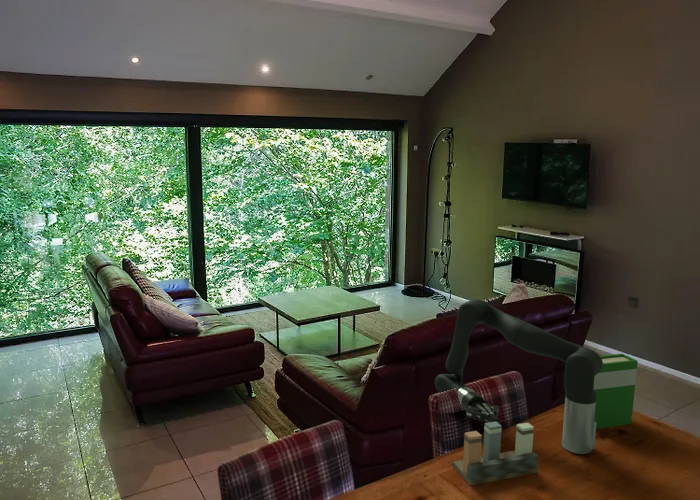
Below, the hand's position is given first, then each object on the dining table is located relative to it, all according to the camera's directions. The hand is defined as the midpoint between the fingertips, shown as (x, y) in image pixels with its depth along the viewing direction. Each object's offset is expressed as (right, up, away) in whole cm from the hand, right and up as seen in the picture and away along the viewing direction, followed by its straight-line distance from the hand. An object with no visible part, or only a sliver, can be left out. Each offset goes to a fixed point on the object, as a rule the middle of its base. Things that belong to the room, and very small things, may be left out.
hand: (496, 422), depth 185 cm
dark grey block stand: (-4, -10, -14) cm, 18 cm away
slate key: (-5, -8, -12) cm, 16 cm away
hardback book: (+44, -5, +18) cm, 47 cm away
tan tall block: (-13, -9, -19) cm, 24 cm away
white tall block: (+5, -8, -13) cm, 16 cm away
